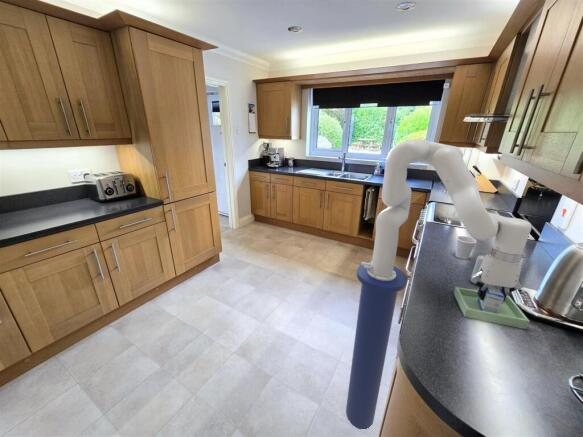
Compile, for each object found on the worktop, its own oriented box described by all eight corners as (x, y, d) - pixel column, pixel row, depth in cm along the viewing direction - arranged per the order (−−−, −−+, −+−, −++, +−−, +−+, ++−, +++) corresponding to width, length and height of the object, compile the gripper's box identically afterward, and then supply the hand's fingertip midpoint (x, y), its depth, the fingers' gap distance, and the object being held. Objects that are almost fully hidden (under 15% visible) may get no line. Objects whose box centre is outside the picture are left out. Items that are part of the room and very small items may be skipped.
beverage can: (468, 278, 107) (475, 254, 103) (481, 280, 106) (489, 256, 102) (472, 284, 103) (480, 259, 99) (485, 286, 101) (494, 261, 97)
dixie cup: (453, 258, 125) (458, 240, 121) (451, 251, 132) (455, 234, 128) (472, 262, 121) (478, 244, 118) (469, 254, 128) (474, 237, 125)
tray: (464, 316, 85) (466, 309, 84) (453, 293, 97) (455, 286, 96) (526, 329, 80) (529, 321, 78) (506, 303, 92) (509, 296, 91)
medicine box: (477, 299, 92) (483, 280, 89) (491, 303, 90) (498, 283, 88) (481, 312, 86) (488, 292, 83) (497, 316, 84) (505, 296, 81)
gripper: (530, 253, 82) (513, 298, 88) (471, 246, 87) (459, 289, 93) (544, 264, 75) (524, 312, 81) (479, 255, 80) (465, 301, 86)
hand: (489, 299), depth 87 cm, fingers closed on medicine box, 4 cm apart
